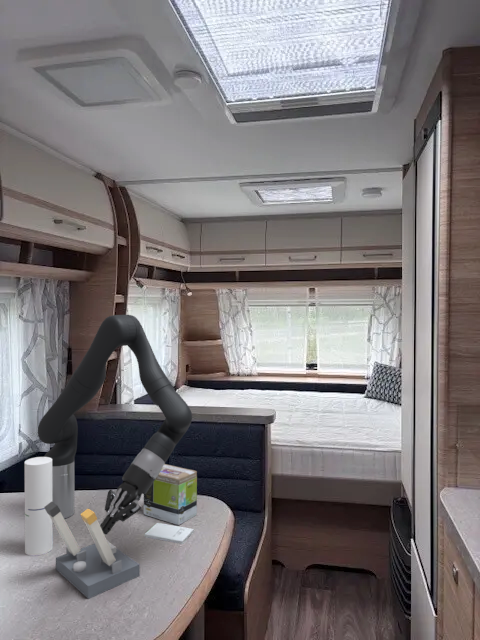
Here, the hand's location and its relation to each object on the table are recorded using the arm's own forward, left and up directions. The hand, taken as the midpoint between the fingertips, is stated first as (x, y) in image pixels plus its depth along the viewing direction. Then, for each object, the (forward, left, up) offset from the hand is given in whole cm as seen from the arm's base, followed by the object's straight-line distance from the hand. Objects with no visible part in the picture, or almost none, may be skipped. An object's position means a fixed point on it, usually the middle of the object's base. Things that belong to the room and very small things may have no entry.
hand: (102, 532), depth 120 cm
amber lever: (0, +2, -9) cm, 9 cm away
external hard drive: (-9, +27, -14) cm, 32 cm away
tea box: (-20, +35, -13) cm, 43 cm away
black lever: (-11, -2, -9) cm, 14 cm away
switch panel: (-5, +1, -13) cm, 14 cm away
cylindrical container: (-27, -5, -13) cm, 30 cm away
